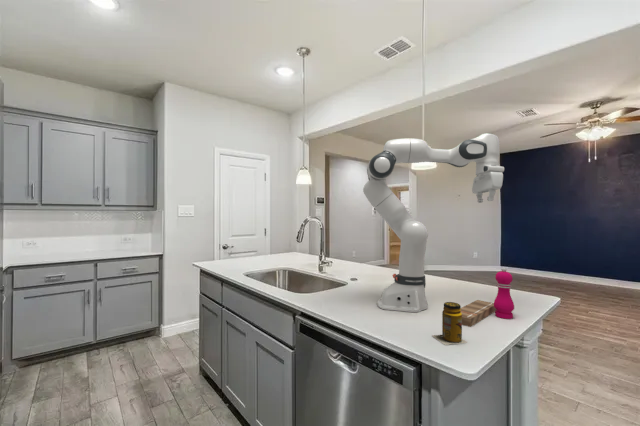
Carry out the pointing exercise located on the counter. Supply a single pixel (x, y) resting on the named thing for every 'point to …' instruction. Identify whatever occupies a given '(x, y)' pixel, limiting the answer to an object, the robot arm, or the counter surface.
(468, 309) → the board
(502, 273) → the pepper mill
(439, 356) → the counter surface
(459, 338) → the condiment
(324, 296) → the counter surface
